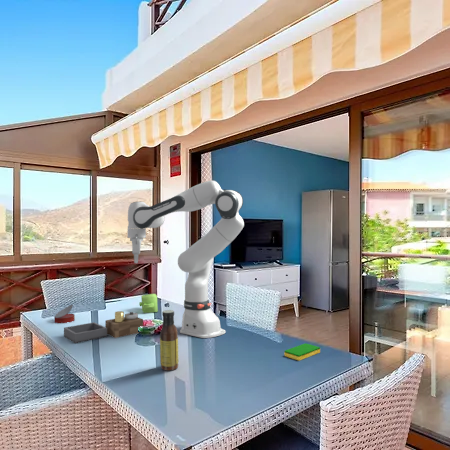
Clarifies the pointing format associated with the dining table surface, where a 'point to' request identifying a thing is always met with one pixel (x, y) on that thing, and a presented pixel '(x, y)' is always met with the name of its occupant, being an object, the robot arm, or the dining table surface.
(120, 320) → the pin
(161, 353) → the sauce bottle
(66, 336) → the pin tray
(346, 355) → the dining table surface
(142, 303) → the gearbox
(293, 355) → the dish sponge
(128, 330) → the brown wooden box
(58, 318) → the canned food
